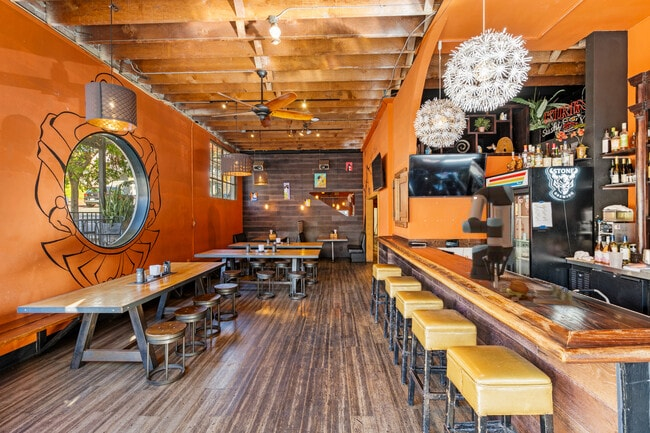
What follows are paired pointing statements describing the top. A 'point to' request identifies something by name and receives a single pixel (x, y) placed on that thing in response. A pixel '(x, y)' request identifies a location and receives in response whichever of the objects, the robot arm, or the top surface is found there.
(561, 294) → the lane
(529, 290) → the mat
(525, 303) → the mat
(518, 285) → the cheeseburger
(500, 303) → the top surface
